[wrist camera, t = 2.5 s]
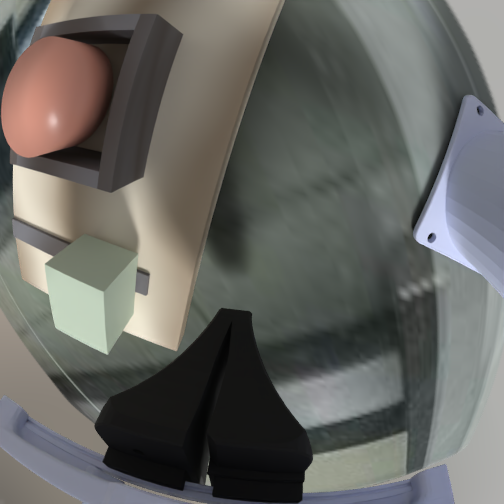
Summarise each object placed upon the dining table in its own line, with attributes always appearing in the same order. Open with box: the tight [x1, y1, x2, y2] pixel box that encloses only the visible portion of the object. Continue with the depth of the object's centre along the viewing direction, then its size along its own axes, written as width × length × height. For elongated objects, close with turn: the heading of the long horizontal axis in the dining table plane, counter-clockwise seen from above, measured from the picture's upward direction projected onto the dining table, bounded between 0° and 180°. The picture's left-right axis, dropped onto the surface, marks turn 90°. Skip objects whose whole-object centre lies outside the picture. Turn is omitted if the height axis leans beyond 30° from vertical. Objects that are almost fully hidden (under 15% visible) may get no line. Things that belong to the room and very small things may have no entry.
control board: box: [10, 0, 285, 351], centre depth 9 cm, size 12×22×4 cm, turn 163°
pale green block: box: [45, 234, 138, 355], centre depth 11 cm, size 3×4×3 cm
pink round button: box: [1, 36, 113, 158], centre depth 6 cm, size 4×4×2 cm
